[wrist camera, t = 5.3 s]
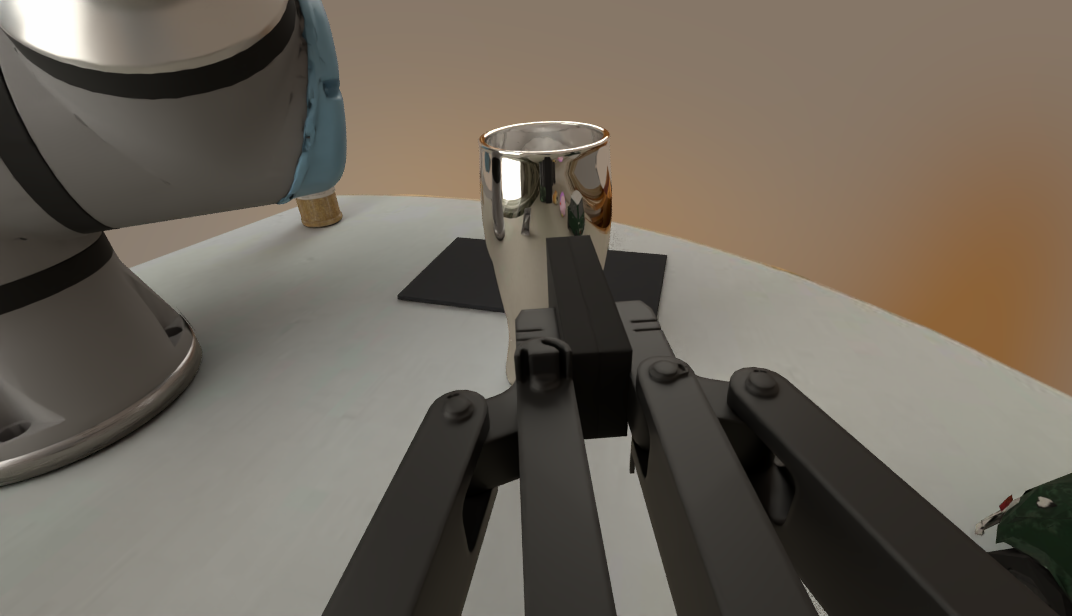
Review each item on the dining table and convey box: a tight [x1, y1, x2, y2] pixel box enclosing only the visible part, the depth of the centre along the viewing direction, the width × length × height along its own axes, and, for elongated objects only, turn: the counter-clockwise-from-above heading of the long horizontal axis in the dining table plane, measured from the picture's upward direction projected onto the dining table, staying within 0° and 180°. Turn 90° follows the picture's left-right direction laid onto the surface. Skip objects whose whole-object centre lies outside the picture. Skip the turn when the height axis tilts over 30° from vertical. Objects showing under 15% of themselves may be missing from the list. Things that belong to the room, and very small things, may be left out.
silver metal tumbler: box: [478, 121, 612, 386], centre depth 28 cm, size 7×7×15 cm
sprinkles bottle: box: [296, 186, 342, 227], centre depth 54 cm, size 5×5×13 cm
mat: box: [398, 237, 667, 318], centre depth 43 cm, size 21×12×1 cm, turn 73°
